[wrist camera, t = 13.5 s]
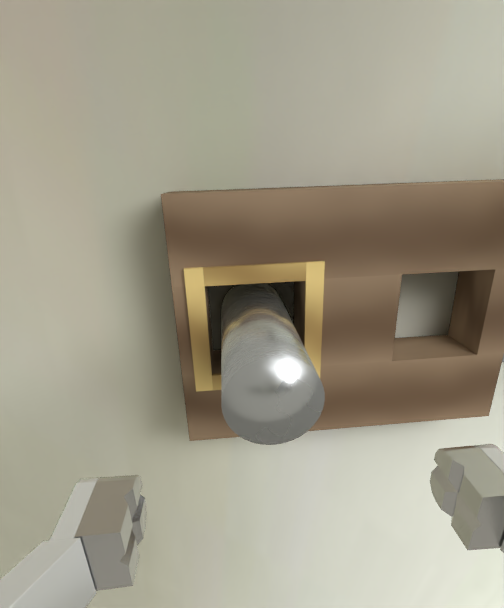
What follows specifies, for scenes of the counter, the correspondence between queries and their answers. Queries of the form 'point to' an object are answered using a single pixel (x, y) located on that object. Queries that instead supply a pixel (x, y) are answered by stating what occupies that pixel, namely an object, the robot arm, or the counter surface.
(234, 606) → the counter surface
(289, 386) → the pin
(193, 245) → the socket board
